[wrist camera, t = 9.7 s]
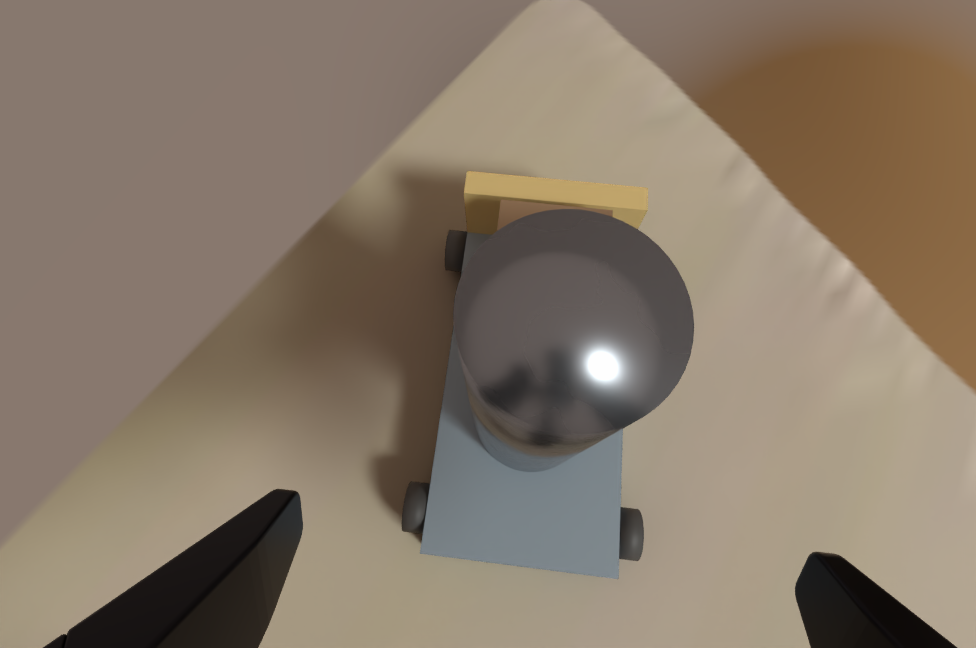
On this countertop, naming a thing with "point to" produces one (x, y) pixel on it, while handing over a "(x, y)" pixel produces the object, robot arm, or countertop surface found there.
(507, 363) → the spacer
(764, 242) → the countertop surface
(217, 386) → the countertop surface
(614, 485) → the cart
